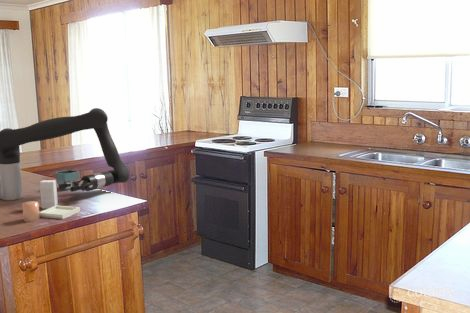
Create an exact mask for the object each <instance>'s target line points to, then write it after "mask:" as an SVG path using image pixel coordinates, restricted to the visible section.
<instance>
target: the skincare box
mask: <svg viewBox="0 0 470 313" xmlns="http://www.w3.org/2000/svg"><path fill="white" fill-rule="evenodd" d="M39 190H40V191H39V192H40V204H41V209H42V210H44V209H48V208H51V207H53V206H56V205H59V202H58V189H57V180H56V179H47V180H45V179H43V180H41V181H39Z"/></svg>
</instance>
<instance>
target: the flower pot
mask: <svg viewBox="0 0 470 313" xmlns="http://www.w3.org/2000/svg"><path fill="white" fill-rule="evenodd" d="M54 175H55V180H56V184H58V186H59V184H64V182H66V181H71V180H75V181H77V180H79V177H80V172H79V171H78V170H73V169H67V170H60V171H59V170H58V171H54ZM63 190H65V191H68V190H70V188H64V189H63Z"/></svg>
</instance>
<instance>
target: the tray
mask: <svg viewBox="0 0 470 313" xmlns="http://www.w3.org/2000/svg"><path fill="white" fill-rule="evenodd" d="M79 212H81V208H80V206H70V205H69V206H68V205H59V204H58V205H56V206H53V207H51V208H45V209H42V210H41V211H39V218H48V219H57V220H58V219H60V220H64V219H66V218H68V217H71V216H72V215H75V214H77V213H79Z"/></svg>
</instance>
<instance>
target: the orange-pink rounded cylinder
mask: <svg viewBox="0 0 470 313" xmlns="http://www.w3.org/2000/svg"><path fill="white" fill-rule="evenodd" d="M39 212H40V205H39V202H38V201H36V200H35V201H34V200H32V201H24V202H22V214H23V215H22V216H23V221H24V222H26V223H30V222H31V223H32V222H37V221H39V220H40V219H41V217H39Z"/></svg>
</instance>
